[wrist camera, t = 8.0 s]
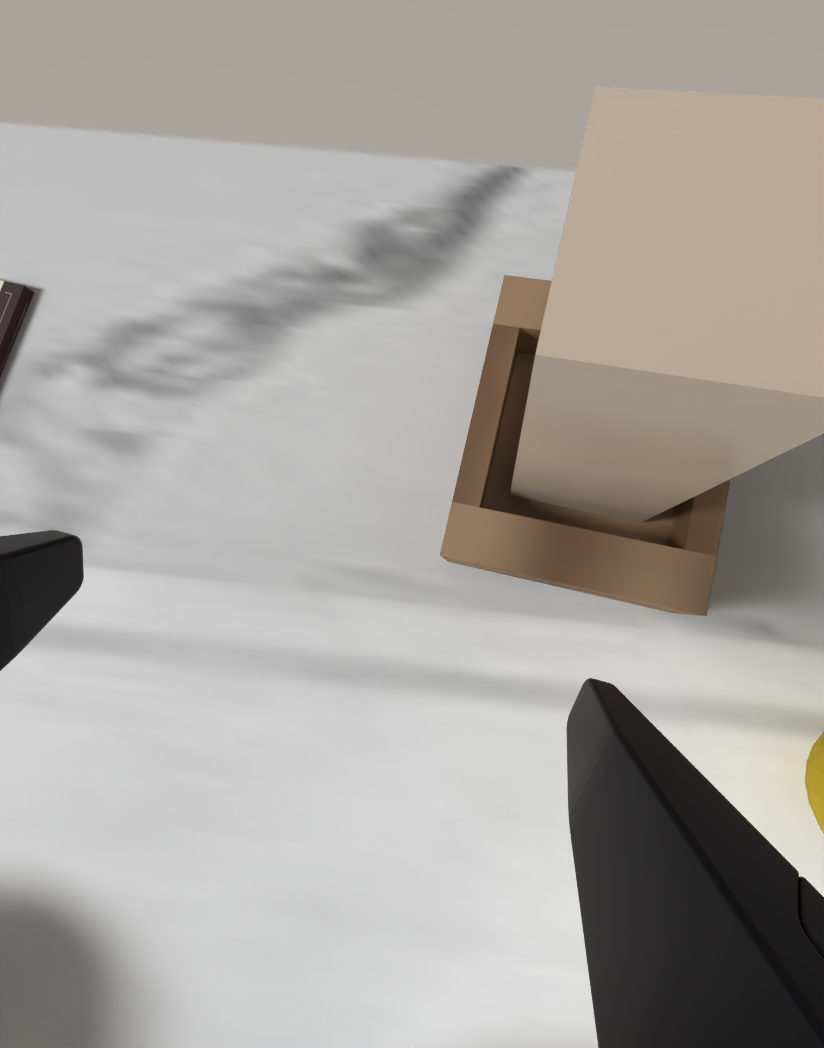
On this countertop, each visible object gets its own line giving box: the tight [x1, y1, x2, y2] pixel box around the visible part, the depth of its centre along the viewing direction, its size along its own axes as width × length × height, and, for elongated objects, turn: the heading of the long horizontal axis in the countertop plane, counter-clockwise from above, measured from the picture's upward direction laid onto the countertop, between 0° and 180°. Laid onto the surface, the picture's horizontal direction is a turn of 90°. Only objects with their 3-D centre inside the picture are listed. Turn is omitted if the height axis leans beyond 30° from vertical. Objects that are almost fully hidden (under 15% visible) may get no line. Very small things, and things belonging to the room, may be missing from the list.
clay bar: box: [510, 87, 824, 523], centre depth 14 cm, size 5×5×12 cm
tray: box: [440, 275, 730, 616], centre depth 19 cm, size 9×11×3 cm
